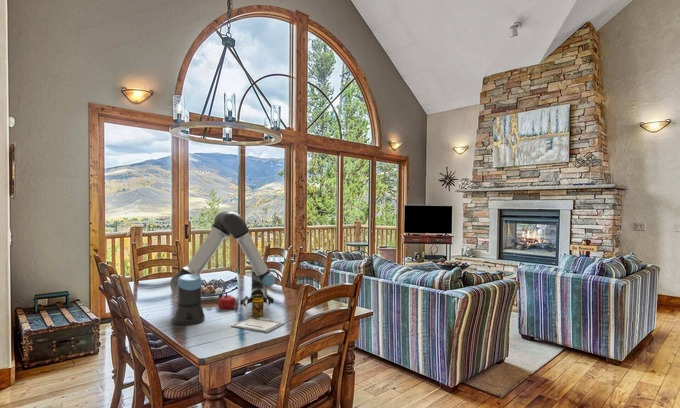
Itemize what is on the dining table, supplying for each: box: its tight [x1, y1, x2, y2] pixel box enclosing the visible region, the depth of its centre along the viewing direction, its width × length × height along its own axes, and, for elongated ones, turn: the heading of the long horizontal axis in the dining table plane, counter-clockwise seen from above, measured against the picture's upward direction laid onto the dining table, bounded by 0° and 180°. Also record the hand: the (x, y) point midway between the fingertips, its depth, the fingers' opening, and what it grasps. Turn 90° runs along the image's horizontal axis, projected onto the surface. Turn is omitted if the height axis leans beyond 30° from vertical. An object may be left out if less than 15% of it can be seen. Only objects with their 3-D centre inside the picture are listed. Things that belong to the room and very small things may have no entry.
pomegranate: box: [217, 292, 237, 310], centre depth 228 cm, size 10×10×9 cm
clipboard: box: [230, 317, 285, 334], centre depth 198 cm, size 22×15×2 cm
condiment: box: [247, 294, 268, 319], centre depth 214 cm, size 7×8×12 cm
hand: (256, 305), depth 210 cm, fingers open, 11 cm apart
